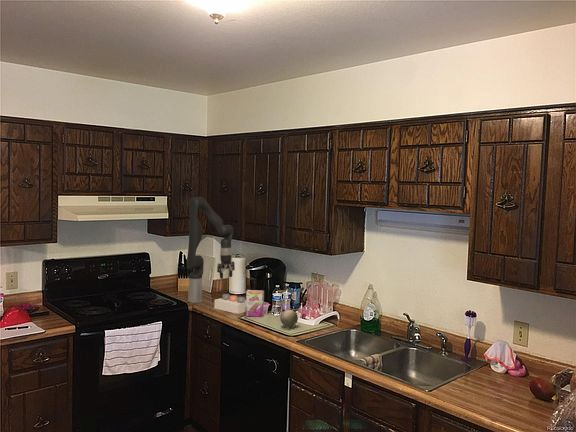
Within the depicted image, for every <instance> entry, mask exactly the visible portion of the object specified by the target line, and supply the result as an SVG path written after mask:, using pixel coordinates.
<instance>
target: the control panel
mask: <svg viewBox="0 0 576 432" xmlns="http://www.w3.org/2000/svg"><path fill="white" fill-rule="evenodd" d="M214 309H215V310H220V311H225V312H229V313H233V314H241V313H246V299H245V303H237V301H235V302H232V301H230V299H229V300H223V299H222V297H221V298H216V299H214Z"/></svg>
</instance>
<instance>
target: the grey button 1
mask: <svg viewBox="0 0 576 432" xmlns="http://www.w3.org/2000/svg"><path fill="white" fill-rule="evenodd" d="M230 296H231V295H230V293H222V297H221V298H222V299H223V300H229V299H230Z"/></svg>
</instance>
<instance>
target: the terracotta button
mask: <svg viewBox="0 0 576 432" xmlns="http://www.w3.org/2000/svg"><path fill="white" fill-rule="evenodd" d="M237 297H238V295H237V294H236V295H235V294H233V295H232V294H231V295H230V301H232V302H235V301H237Z"/></svg>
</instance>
